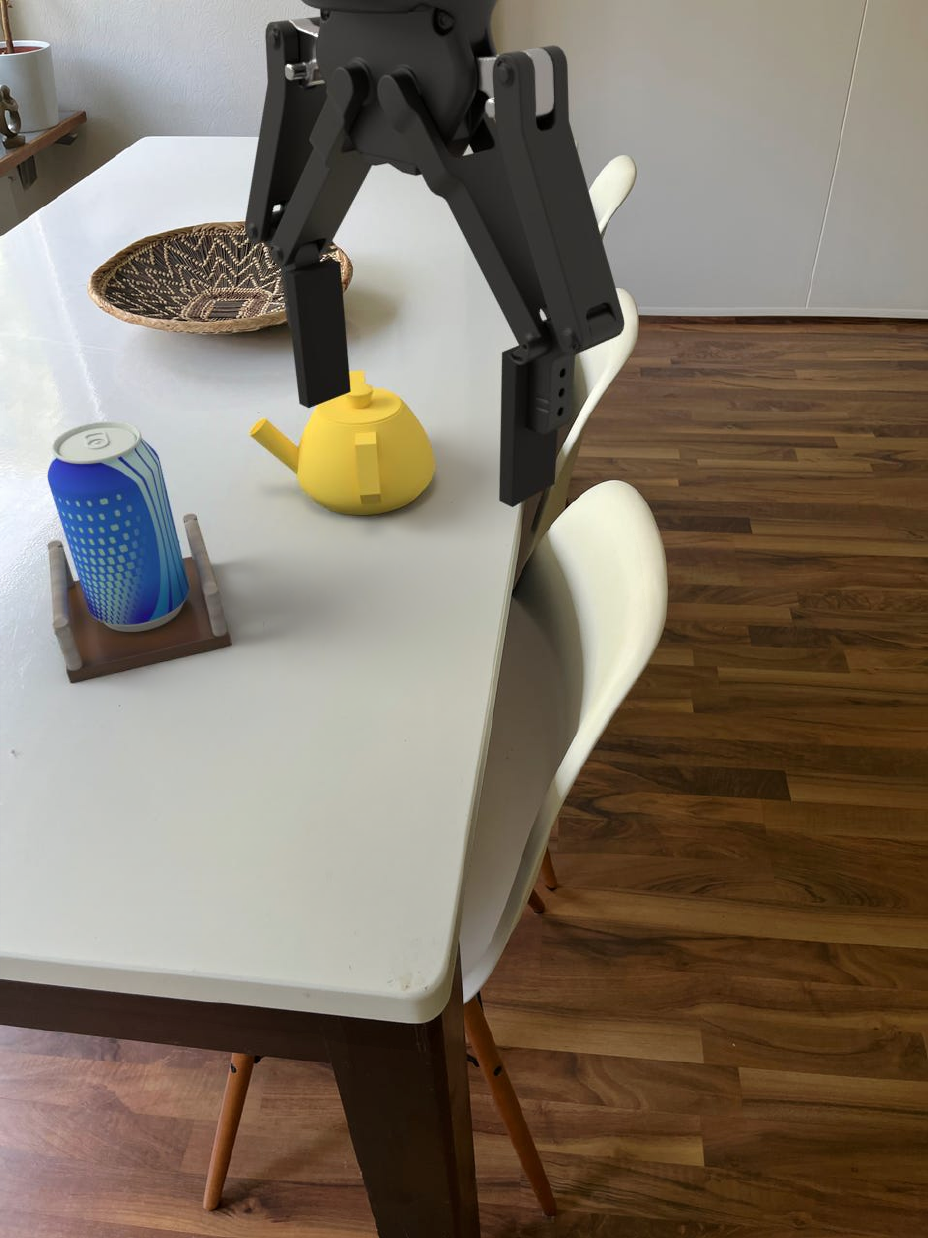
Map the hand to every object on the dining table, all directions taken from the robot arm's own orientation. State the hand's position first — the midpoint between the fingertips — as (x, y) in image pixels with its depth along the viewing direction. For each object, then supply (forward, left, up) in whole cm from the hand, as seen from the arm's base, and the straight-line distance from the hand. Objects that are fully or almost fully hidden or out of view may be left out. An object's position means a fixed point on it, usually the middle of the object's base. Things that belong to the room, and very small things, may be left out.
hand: (417, 442), depth 46 cm
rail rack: (+1, +37, -30) cm, 48 cm away
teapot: (+27, +42, -31) cm, 58 cm away
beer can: (+1, +37, -29) cm, 48 cm away
